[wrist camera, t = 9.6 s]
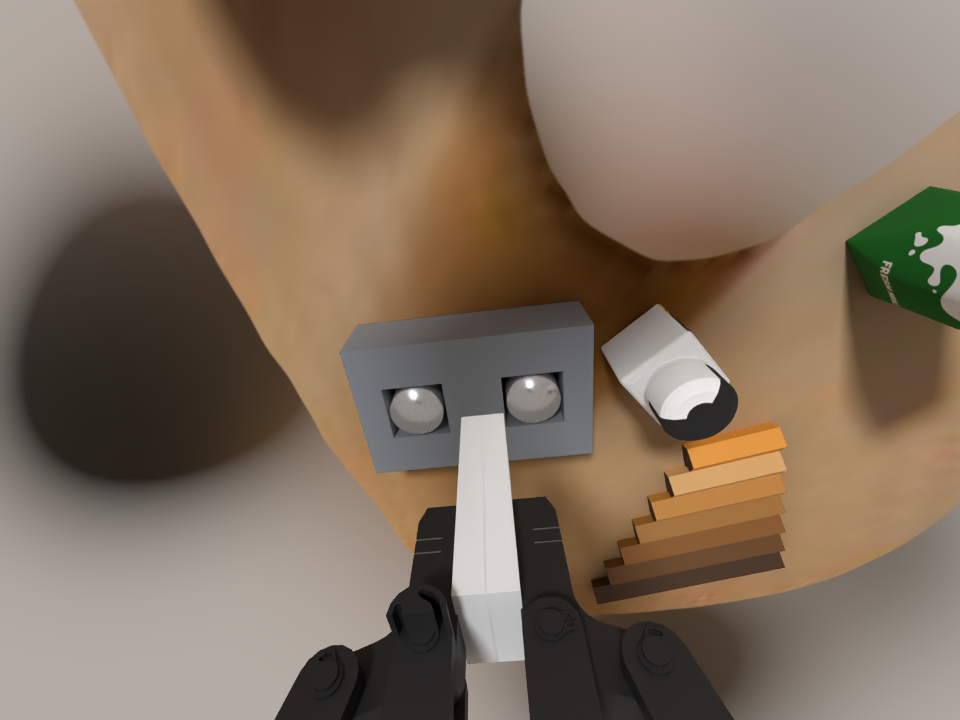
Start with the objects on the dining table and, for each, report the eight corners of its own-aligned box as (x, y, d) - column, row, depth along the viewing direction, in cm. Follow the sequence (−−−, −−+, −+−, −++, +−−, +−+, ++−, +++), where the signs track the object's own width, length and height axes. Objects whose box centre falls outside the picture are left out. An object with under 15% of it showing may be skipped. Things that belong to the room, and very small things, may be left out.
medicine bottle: (695, 348, 43) (767, 416, 32) (637, 389, 45) (686, 465, 35) (657, 301, 41) (722, 358, 30) (598, 347, 43) (638, 415, 32)
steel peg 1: (394, 366, 42) (384, 393, 38) (442, 361, 42) (438, 387, 38) (403, 407, 45) (396, 436, 40) (450, 402, 45) (447, 431, 40)
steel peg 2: (501, 355, 42) (504, 380, 38) (551, 350, 42) (560, 374, 37) (505, 396, 44) (509, 425, 40) (553, 392, 44) (561, 420, 40)
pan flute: (594, 588, 62) (769, 553, 59) (599, 611, 59) (784, 575, 56) (555, 468, 51) (768, 415, 48) (560, 488, 48) (787, 434, 45)
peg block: (357, 325, 42) (339, 352, 36) (578, 300, 40) (594, 324, 35) (387, 436, 48) (376, 473, 43) (579, 417, 47) (592, 453, 42)
